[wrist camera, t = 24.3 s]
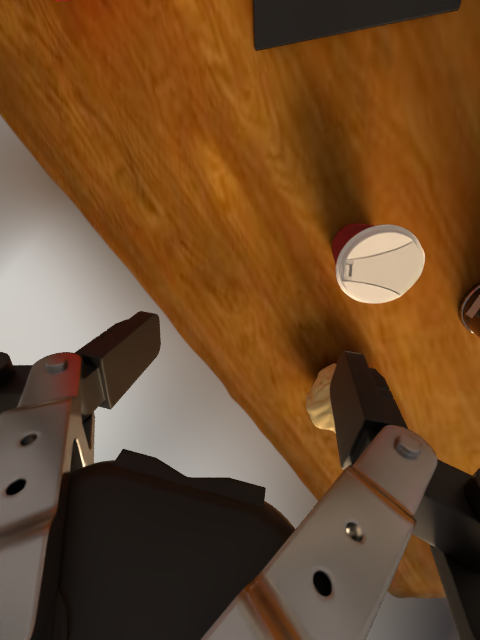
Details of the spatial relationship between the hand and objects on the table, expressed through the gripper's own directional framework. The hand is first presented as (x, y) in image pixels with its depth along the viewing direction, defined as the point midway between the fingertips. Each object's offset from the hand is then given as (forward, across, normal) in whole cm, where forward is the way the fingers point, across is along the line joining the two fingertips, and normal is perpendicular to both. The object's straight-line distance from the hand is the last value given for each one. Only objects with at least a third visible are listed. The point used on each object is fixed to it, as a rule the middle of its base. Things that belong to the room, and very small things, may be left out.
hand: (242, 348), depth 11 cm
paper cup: (+30, -10, -1) cm, 32 cm away
